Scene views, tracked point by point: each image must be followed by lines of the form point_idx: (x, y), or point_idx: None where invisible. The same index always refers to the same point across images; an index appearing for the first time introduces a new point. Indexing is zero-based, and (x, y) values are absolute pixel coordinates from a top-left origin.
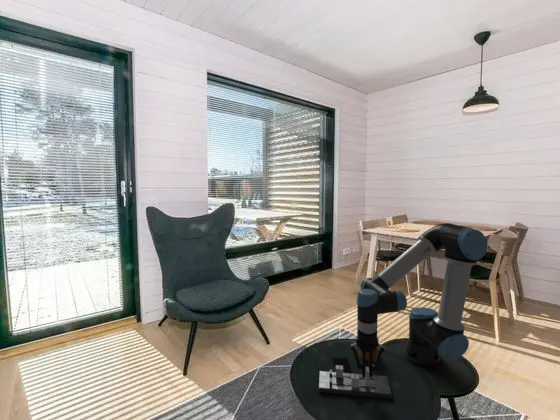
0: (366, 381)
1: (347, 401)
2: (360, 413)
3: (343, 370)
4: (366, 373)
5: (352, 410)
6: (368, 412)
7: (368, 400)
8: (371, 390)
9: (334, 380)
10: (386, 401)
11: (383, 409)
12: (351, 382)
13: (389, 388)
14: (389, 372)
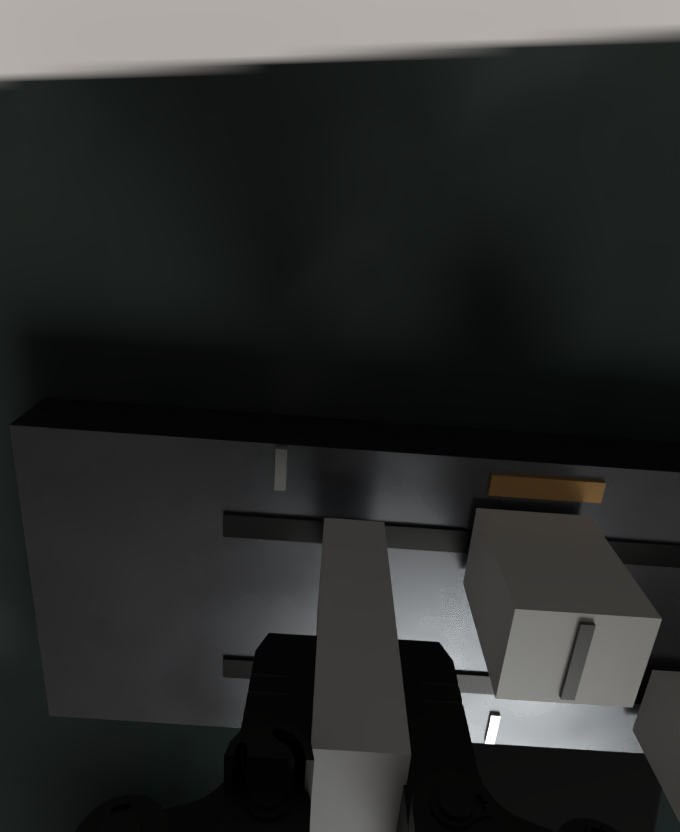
0: (371, 572)
1: (661, 317)
2: (536, 85)
3: (561, 787)
4: (381, 703)
5: (641, 142)
6: (408, 115)
7: (359, 350)
8: (295, 477)
9: None
10: (116, 345)
11: (176, 191)
12: (618, 564)
13: (31, 523)
14: (34, 776)
